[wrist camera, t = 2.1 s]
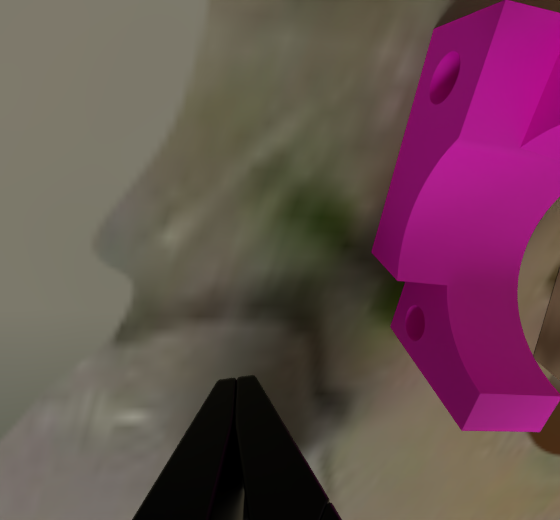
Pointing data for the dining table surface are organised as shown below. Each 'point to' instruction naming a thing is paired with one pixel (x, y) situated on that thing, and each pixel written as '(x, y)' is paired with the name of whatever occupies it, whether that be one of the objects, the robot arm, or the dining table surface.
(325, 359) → the dining table surface
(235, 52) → the dining table surface
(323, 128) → the dining table surface
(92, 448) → the dining table surface
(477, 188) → the toy block
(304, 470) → the robot arm
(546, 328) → the batten
